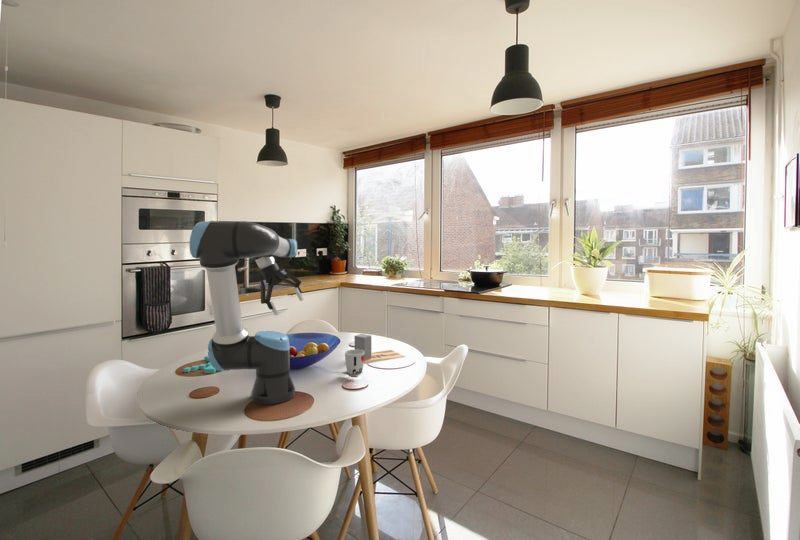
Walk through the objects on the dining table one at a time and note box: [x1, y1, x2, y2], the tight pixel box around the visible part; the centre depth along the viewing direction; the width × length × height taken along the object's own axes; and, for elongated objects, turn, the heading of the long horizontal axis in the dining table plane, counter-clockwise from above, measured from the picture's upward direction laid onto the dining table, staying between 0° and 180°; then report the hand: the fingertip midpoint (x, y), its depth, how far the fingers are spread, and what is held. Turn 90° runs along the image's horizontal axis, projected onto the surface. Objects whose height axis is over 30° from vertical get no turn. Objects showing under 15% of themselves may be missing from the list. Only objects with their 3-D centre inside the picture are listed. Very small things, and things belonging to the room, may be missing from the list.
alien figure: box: [182, 354, 224, 374], centre depth 182 cm, size 20×2×20 cm
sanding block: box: [353, 333, 372, 361], centre depth 188 cm, size 6×5×11 cm
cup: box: [344, 349, 365, 378], centre depth 169 cm, size 8×8×10 cm
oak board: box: [363, 349, 406, 365], centre depth 192 cm, size 14×24×2 cm, turn 121°
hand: (289, 307), depth 183 cm, fingers open, 13 cm apart
